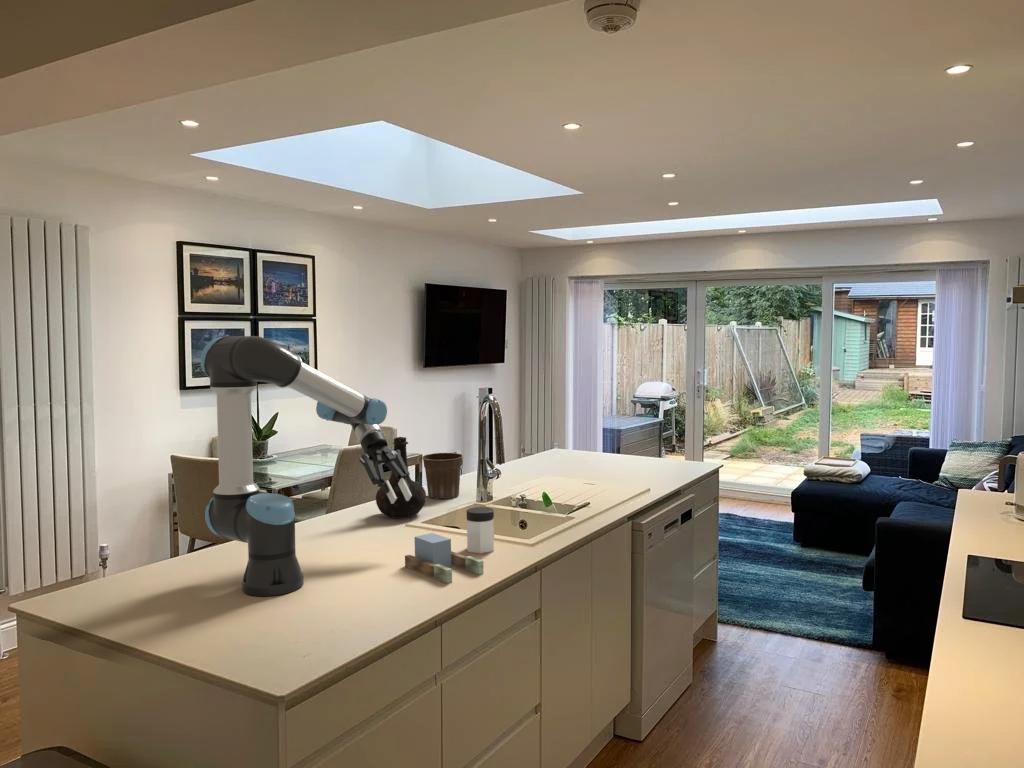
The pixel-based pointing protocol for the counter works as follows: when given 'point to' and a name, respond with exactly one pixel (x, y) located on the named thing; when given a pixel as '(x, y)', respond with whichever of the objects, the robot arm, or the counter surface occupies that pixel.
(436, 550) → the block
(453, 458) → the plant pot
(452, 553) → the chute
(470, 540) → the jar
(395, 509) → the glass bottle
